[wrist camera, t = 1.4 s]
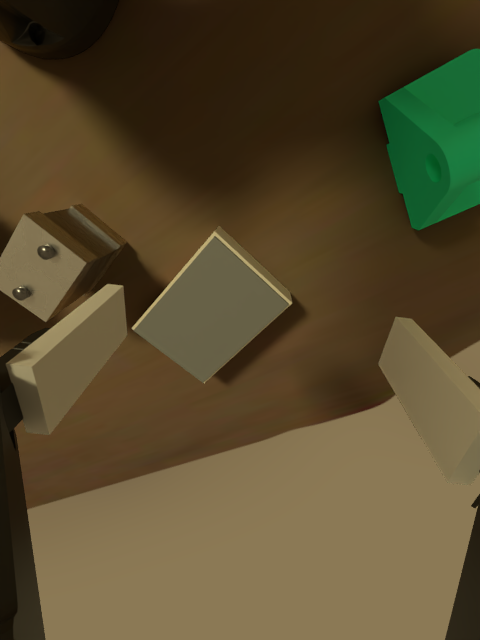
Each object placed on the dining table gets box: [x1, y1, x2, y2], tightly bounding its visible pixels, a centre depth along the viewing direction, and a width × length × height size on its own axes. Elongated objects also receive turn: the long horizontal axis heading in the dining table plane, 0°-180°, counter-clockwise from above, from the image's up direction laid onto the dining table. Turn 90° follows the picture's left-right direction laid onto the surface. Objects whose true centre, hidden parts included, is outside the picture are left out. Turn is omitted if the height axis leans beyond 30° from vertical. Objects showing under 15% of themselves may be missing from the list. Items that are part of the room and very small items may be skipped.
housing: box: [0, 204, 127, 322], centre depth 31 cm, size 6×8×10 cm
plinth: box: [131, 226, 292, 383], centre depth 36 cm, size 11×15×4 cm
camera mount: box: [378, 49, 480, 230], centre depth 25 cm, size 12×8×10 cm, turn 27°
